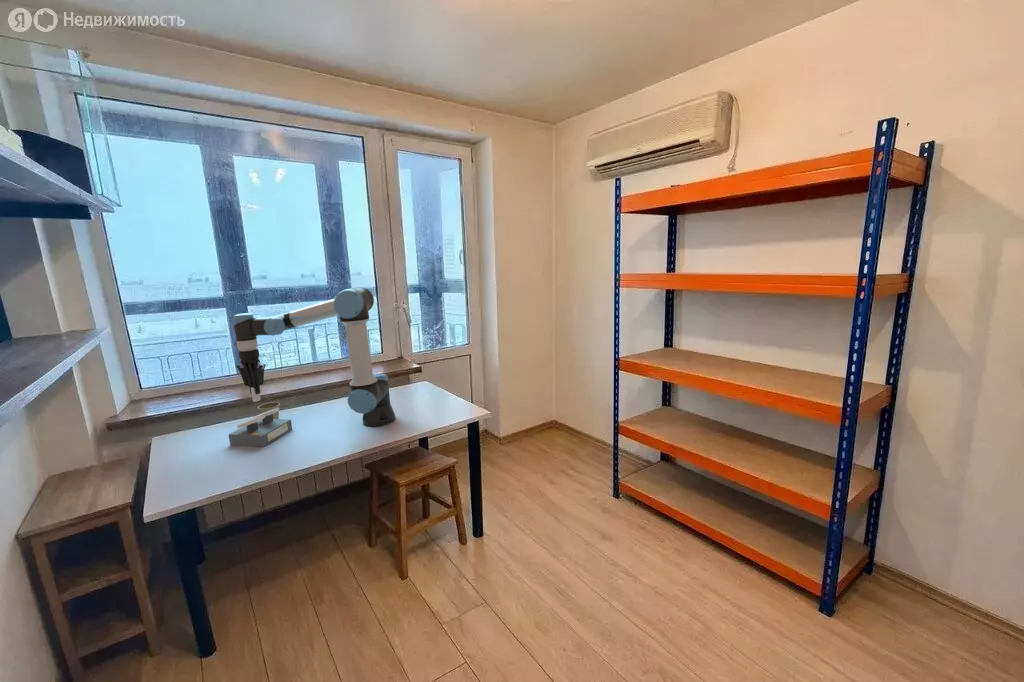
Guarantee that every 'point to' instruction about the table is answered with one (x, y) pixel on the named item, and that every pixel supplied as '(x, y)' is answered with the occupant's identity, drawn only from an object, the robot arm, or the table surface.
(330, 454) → the table surface
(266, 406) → the flower pot
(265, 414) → the rocker
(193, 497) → the table surface
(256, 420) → the rocker
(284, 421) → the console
